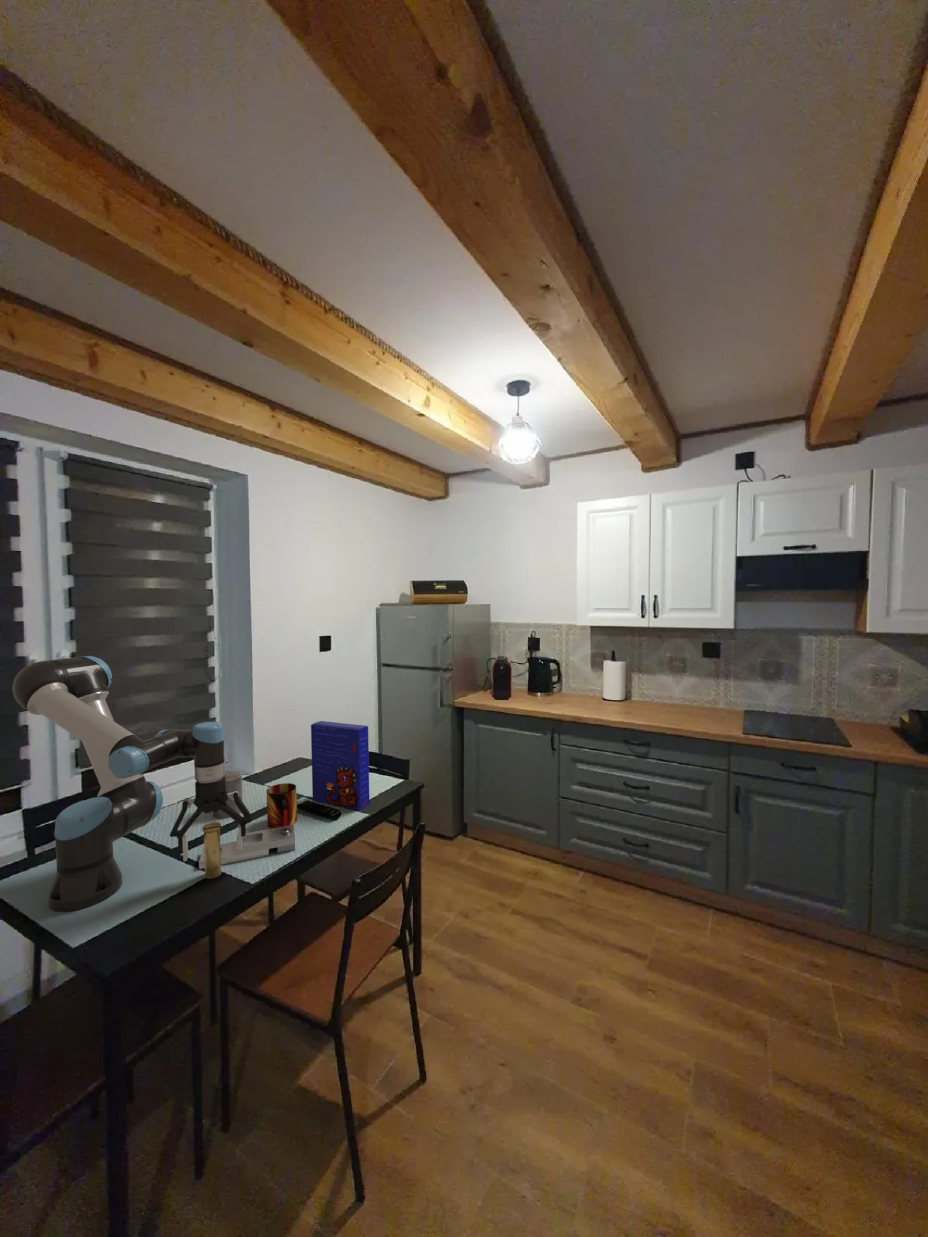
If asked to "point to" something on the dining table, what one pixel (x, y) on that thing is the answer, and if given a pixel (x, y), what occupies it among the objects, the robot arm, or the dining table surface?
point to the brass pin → (212, 849)
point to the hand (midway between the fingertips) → (213, 853)
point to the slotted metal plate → (256, 845)
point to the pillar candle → (231, 785)
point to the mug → (281, 805)
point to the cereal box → (340, 764)
